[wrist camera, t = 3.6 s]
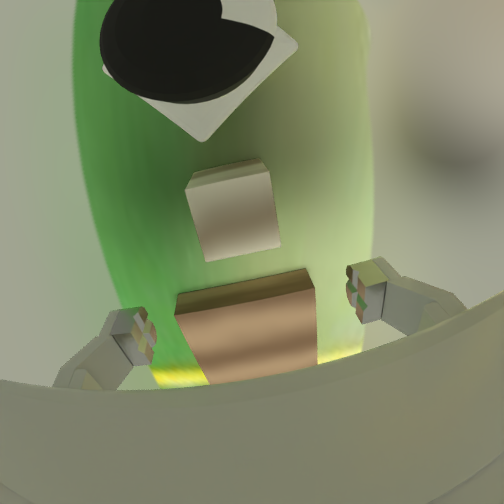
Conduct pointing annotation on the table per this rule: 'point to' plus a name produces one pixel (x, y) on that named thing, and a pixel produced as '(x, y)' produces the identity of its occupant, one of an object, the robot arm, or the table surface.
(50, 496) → the robot arm
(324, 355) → the table surface
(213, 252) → the ash cube
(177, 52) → the medicine bottle
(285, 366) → the walnut base
